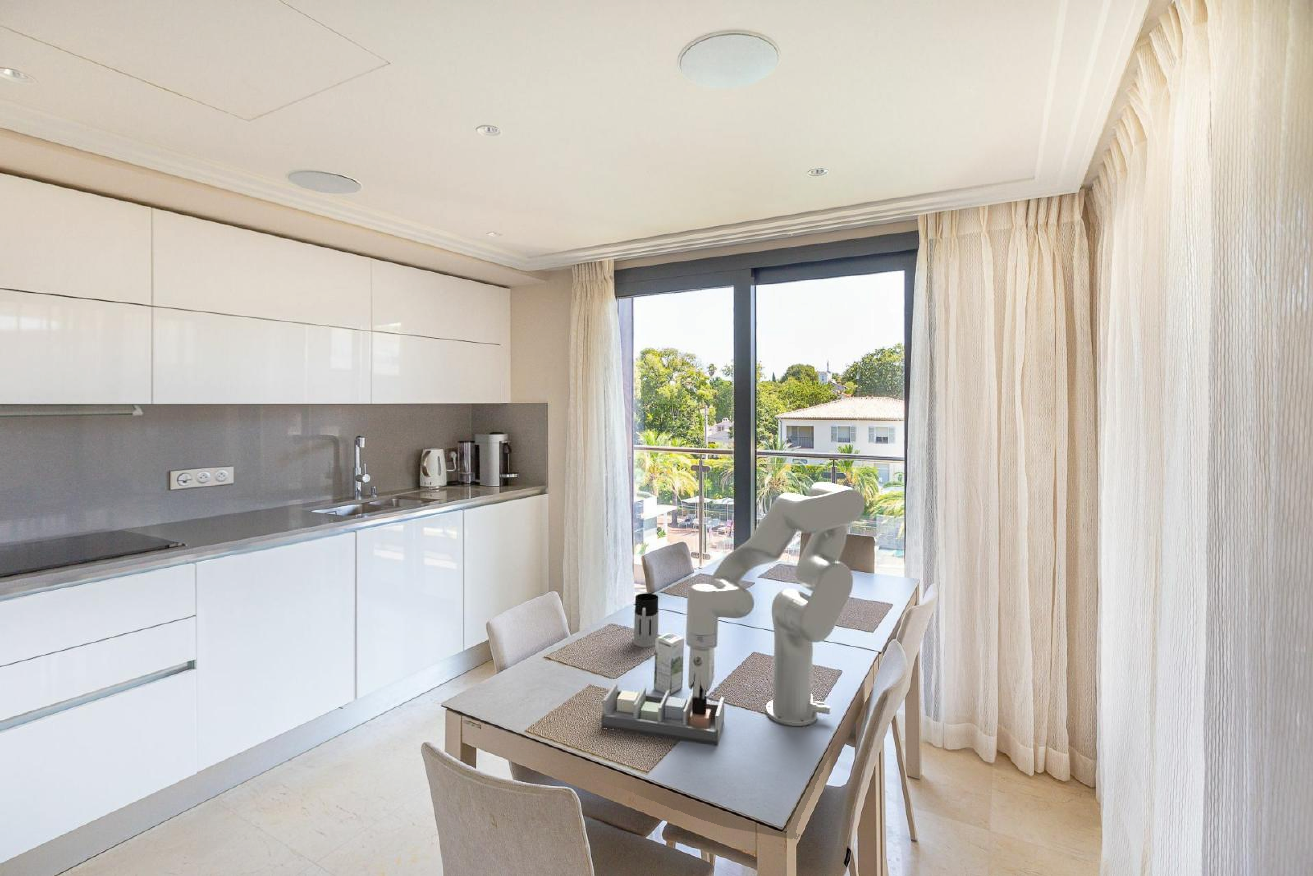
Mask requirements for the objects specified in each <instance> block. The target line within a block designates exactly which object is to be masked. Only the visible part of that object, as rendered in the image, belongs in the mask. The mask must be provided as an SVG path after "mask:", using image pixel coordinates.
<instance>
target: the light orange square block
mask: <svg viewBox="0 0 1313 876" xmlns="http://www.w3.org/2000/svg"><path fill="white" fill-rule="evenodd" d="M710 722H711V710H710V709H706V714H705V715H699V714H693V713H692V711H691V714H690V726H691V727H698V728H705V729H709V726H710Z"/></svg>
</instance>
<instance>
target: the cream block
mask: <svg viewBox="0 0 1313 876" xmlns="http://www.w3.org/2000/svg"><path fill="white" fill-rule="evenodd" d="M621 691H622V692H621V693H620V695H619V696H618V698H617V711H624V712H631V713H634V703H635V701H636V700H637V698H638V696H639V693H640V692H639V691H638V692H637V691H636V692H635V691H630V690H621Z"/></svg>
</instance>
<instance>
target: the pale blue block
mask: <svg viewBox="0 0 1313 876" xmlns="http://www.w3.org/2000/svg"><path fill="white" fill-rule="evenodd" d="M687 700H688V699H687V698H682V697H673V696H669V698H668V700H667V702H666V704H665V717H666V718H673V719H681V720H683V711H684V708H685V706H686V703H687Z"/></svg>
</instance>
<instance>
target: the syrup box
mask: <svg viewBox="0 0 1313 876" xmlns="http://www.w3.org/2000/svg"><path fill="white" fill-rule="evenodd" d="M654 647H655V648H654V671H653V672H654V676H653V689H654V690H656V691H658V692H660V693H664V694H665V693H666V691H667V690H669V696H671V695H673V694H675V693H676V692H678V691H680V690H682V688H683V683H684V682H683V679H684V677H683V675H684V653H685V652H684V651H685V638H684V637H682V636H680V635H678V634H675V633H671V632H667V633H665V634H663V635H660V636H658V638H656V640H655V646H654Z"/></svg>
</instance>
